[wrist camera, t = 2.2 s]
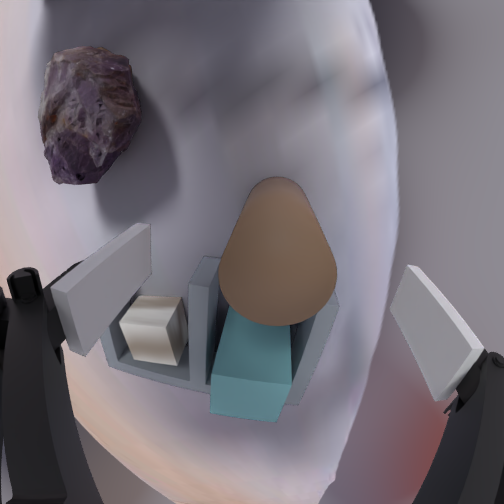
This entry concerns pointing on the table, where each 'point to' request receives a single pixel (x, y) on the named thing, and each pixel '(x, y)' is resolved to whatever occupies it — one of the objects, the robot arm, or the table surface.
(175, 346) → the cream cube
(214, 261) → the lane rack
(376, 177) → the table surface
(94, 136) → the rock
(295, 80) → the table surface
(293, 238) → the block
